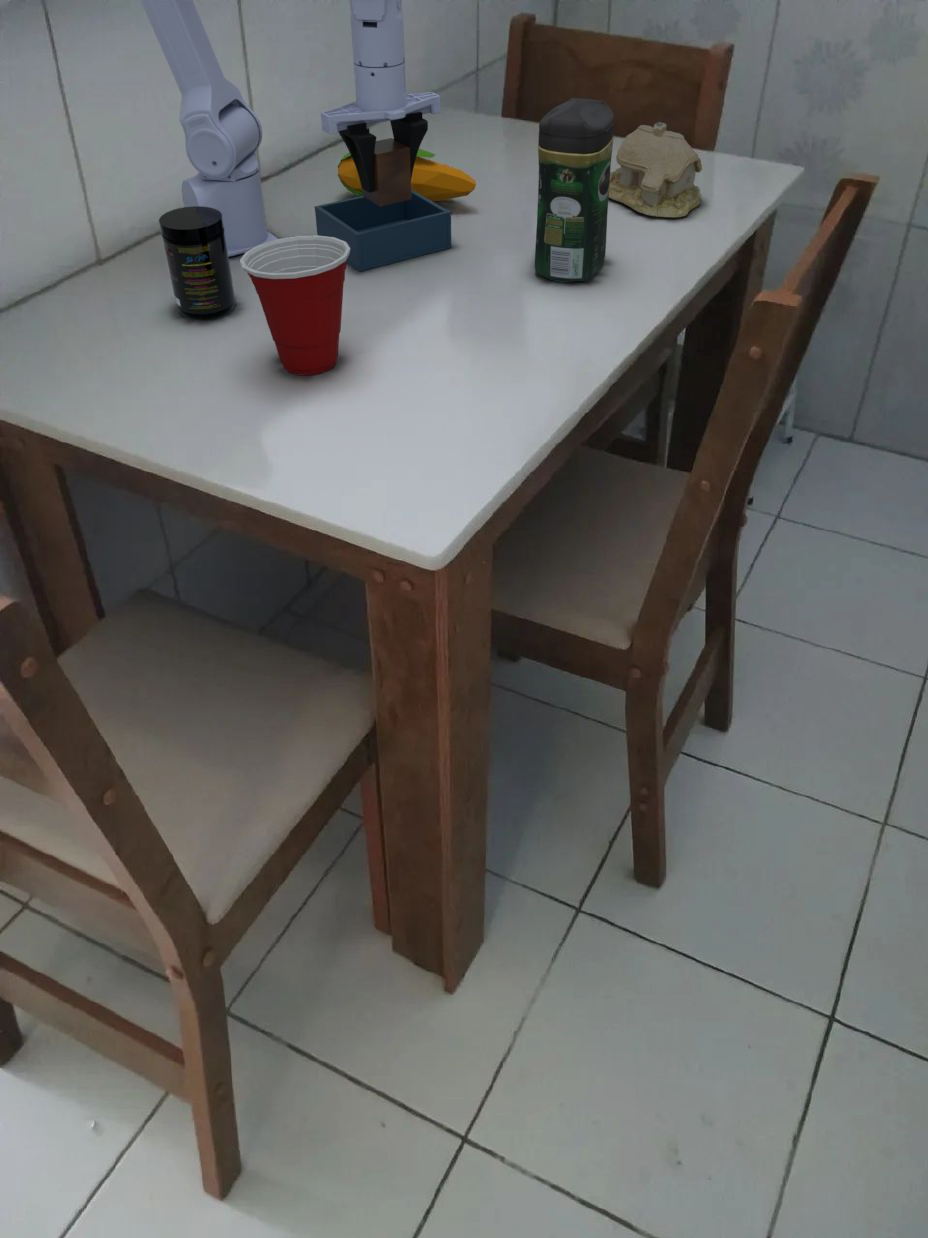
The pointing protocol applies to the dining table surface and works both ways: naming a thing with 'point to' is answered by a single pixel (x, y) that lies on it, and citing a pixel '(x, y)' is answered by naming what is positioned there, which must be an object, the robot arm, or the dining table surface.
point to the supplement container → (198, 261)
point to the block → (390, 173)
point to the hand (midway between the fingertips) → (386, 185)
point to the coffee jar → (573, 189)
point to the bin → (385, 229)
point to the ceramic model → (656, 173)
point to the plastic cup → (301, 297)
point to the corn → (418, 178)
